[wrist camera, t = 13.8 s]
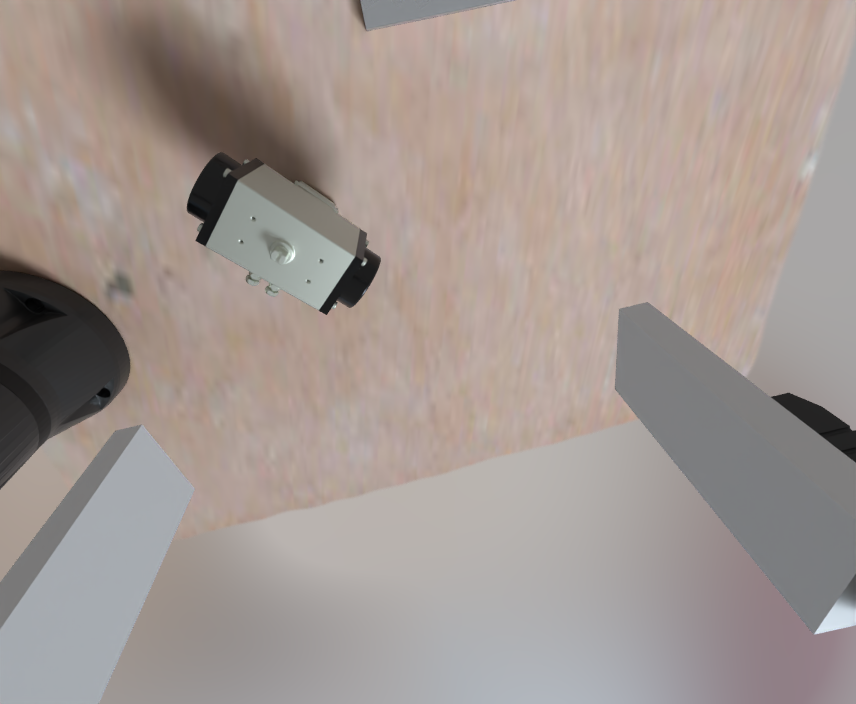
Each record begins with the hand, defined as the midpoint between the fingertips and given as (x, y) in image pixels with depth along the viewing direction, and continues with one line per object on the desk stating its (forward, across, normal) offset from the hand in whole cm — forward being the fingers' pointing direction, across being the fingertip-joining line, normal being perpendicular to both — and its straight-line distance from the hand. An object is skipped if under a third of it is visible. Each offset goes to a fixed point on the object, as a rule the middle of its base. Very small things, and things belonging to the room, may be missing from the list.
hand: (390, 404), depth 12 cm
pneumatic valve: (+28, -6, 0) cm, 28 cm away
